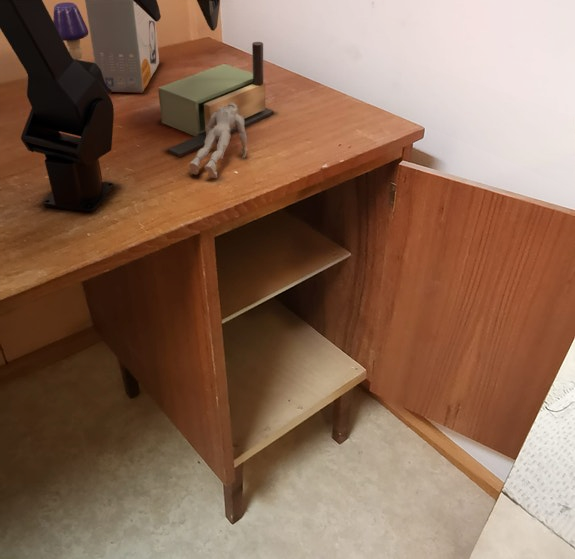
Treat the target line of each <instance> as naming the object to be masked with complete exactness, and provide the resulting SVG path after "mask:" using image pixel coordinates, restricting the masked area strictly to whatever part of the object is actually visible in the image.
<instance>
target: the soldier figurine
mask: <svg viewBox="0 0 575 559" xmlns="http://www.w3.org/2000/svg"><path fill="white" fill-rule="evenodd" d="M236 124H237V127H238V131H237V132H238V138H239V140H240V143H241V149H240V150H239V153H240V154H241V153H243V154H242V156H241V157H242V158H246V156H247V153H248V148H247V142H248V136H247V132H246V127H244V118H243V116H242V115H241V114H240V115H238V108H237V105H236V104H234V103H230V104H228V106H226V107H225V106H221V107H219V108H218V111H215V112H213V113H212V115H211V118H210V120H209V124H208V125H207V126H206V139H205V142H204V143H205V145H204V146H203V147H201V148H199V149H198V150H197V152H196V155H195V156H194V158H193V160H191V161H190V163H189V167H190V168H189V169H188V171H189V172H190V174H191V175H194V176H197V175H199V172H200V170H199V168H200V164H201V161H202V160H203V159H204V158H207V157H208V156H209V152H211V151H212V149H213V148H214V146H215V145H216V143H217V145H216V150H215V151H214V152H212V154H211V156H210V158H209V161H208V162H207V163H206V164H205V165H204V167H203V168H204V170H205V171H206V172H208V174H207V176H208V177H210V178H211V179H217V178H218V172H217V163H218V161H221V160H223V159H224V155H225V151H226V150H227V149H228V147H229V144H230V141H231V136H232V133H231V134H230V132H231V130H232V129H233V128H234V127H235V126H236Z"/></svg>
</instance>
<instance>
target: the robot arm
mask: <svg viewBox="0 0 575 559" xmlns="http://www.w3.org/2000/svg"><path fill="white" fill-rule="evenodd" d="M133 1H134V2H135V3H136V4H137V5H139V6H140V7H141V8H142V9H143V10H144V11H145V12H146V13H147V14H148V15H149V16H150V17H151V18H152V19H153V20H154V21H155V22H159V21H160V20H161V18H162V15H161V11H160V6H159V4H158V0H133ZM196 2H197V4H198V6H199V9H200V10H201V11H200V12H201V13H202V15H203V17H204V19H205V23H206V24H207V26H208V28H209V29H210V31H213V32H214V31H215V30H216V29H217V27H218V22H219V14H220V7H221V6H220V5H221V0H196ZM0 31H1V33H2V34H3V36H4V38H5V39H6V41H7V42H8V44H9V46H10V47H11V49H12V50H13V52H14V54H15V56H16V57H17V59H18V61H19V62H20V64H21V66H22V67H23V68H24V70H25V72H26V74H27V80H26V81H27V82H26V92H25V93H26V97H27V99H28V102H29V104H30V106H31V109H30V112H29V113H28V114H29V115H28V116H27V120H26V121H25V122H26V123H25V125H24V128H23V131H22V133H21V136H20V140H21V142H22V143H23V145H24V146H25V148H26V150H27V151H28V152H32V153H34V152H35V153H38V154H41V155H44V158H45V159H44V165H45V169H46V174H47V177H48V181H49V184H50V189H51V193H50V194H49V195H48V196H47V197H46V198H45V199H43V201H42V202H43V206H44V207H45V208H53V209H54V208H55V209H62V210H70V211H78V212H87V213H94V212H95V211H96V210H97V209H98V208H99V206H100V205H101V204H102V203H103V202H104V200H105V199H106V198H107V197H108V196H109V195H110V194H111V192H112V191H113V190H114V189H115V183H114V182H109V181H103V175H102V171H101V165H100V164H101V163H100V158H103V156H105V155H107V154H108V153H109V152H111V151H112V149H113V148H112V147H113V132H114V118H115V112H114V110H115V109H114V108H115V107H114V104H113V100H112V98H111V96H110V95H111V94H113V92H112V90H111V89H110V88H109V87H108V86H107V85H106V83H105V81H104V78H103V75H102V72H101V70H100V68H99V67H98V65H97V64H96V63H94V62H92V61H87V60H84V61H82V60H77V59H73V57H72V56H71V55H70V53H69V48H68V46H67V45H66V43H65V42H64V41H63V39H62V37H61V36H60V34H59V32H58V30H57V28H56V26H55V24H54V22H53V18H52V16H51V15H50V12H49V10H48V9H47V6H46V5H45V3H44V1H43V0H0Z"/></svg>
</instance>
